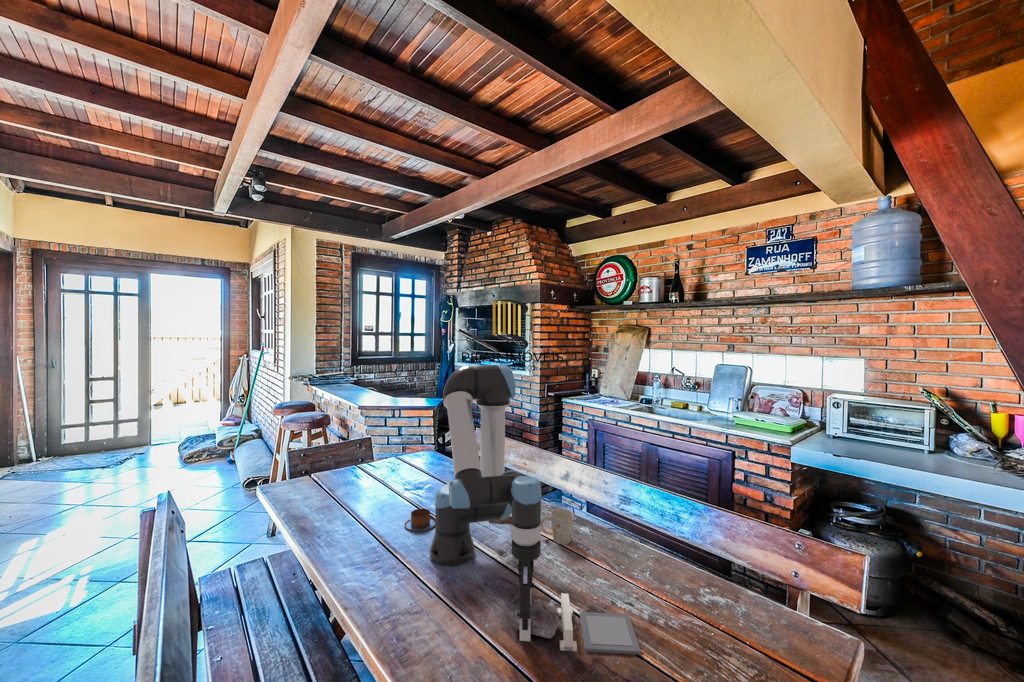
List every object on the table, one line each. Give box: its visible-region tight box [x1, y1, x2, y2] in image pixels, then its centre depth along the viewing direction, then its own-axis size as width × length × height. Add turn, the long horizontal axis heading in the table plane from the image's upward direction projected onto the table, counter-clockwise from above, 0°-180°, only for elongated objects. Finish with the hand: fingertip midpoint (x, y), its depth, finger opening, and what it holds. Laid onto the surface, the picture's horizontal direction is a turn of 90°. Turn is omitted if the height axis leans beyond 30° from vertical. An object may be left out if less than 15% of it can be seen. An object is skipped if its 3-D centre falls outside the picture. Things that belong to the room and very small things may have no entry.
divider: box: [556, 592, 578, 652], centre depth 105 cm, size 4×14×5 cm, turn 176°
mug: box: [540, 508, 575, 545], centre depth 152 cm, size 8×13×10 cm, turn 78°
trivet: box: [579, 611, 642, 656], centre depth 104 cm, size 13×13×1 cm
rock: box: [512, 603, 560, 640], centre depth 106 cm, size 8×11×5 cm
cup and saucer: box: [404, 508, 435, 533], centre depth 161 cm, size 12×12×6 cm
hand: (525, 626), depth 106 cm, fingers open, 9 cm apart
